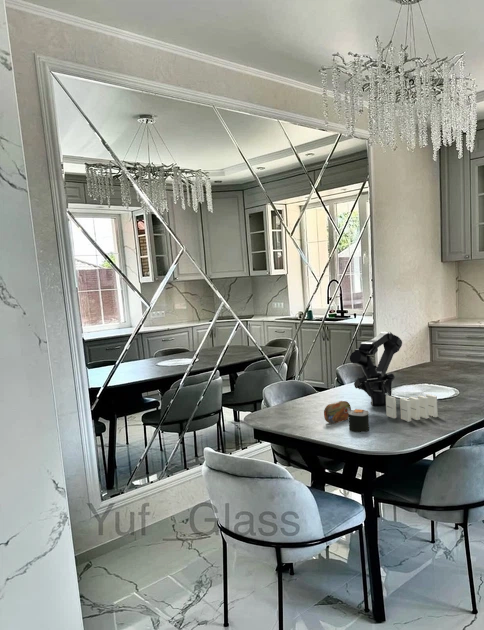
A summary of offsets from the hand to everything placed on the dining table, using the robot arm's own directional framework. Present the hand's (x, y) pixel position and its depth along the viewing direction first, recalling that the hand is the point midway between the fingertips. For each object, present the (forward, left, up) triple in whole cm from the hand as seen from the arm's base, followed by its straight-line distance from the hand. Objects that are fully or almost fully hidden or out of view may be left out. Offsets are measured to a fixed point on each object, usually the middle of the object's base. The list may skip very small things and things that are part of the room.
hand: (381, 397), depth 217 cm
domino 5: (+21, -4, -8) cm, 23 cm away
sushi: (-14, -19, -8) cm, 25 cm away
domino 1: (+3, -3, -8) cm, 9 cm away
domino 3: (+12, -7, -8) cm, 16 cm away
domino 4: (+16, -6, -8) cm, 19 cm away
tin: (-21, -6, -9) cm, 23 cm away
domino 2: (+8, -9, -8) cm, 15 cm away
